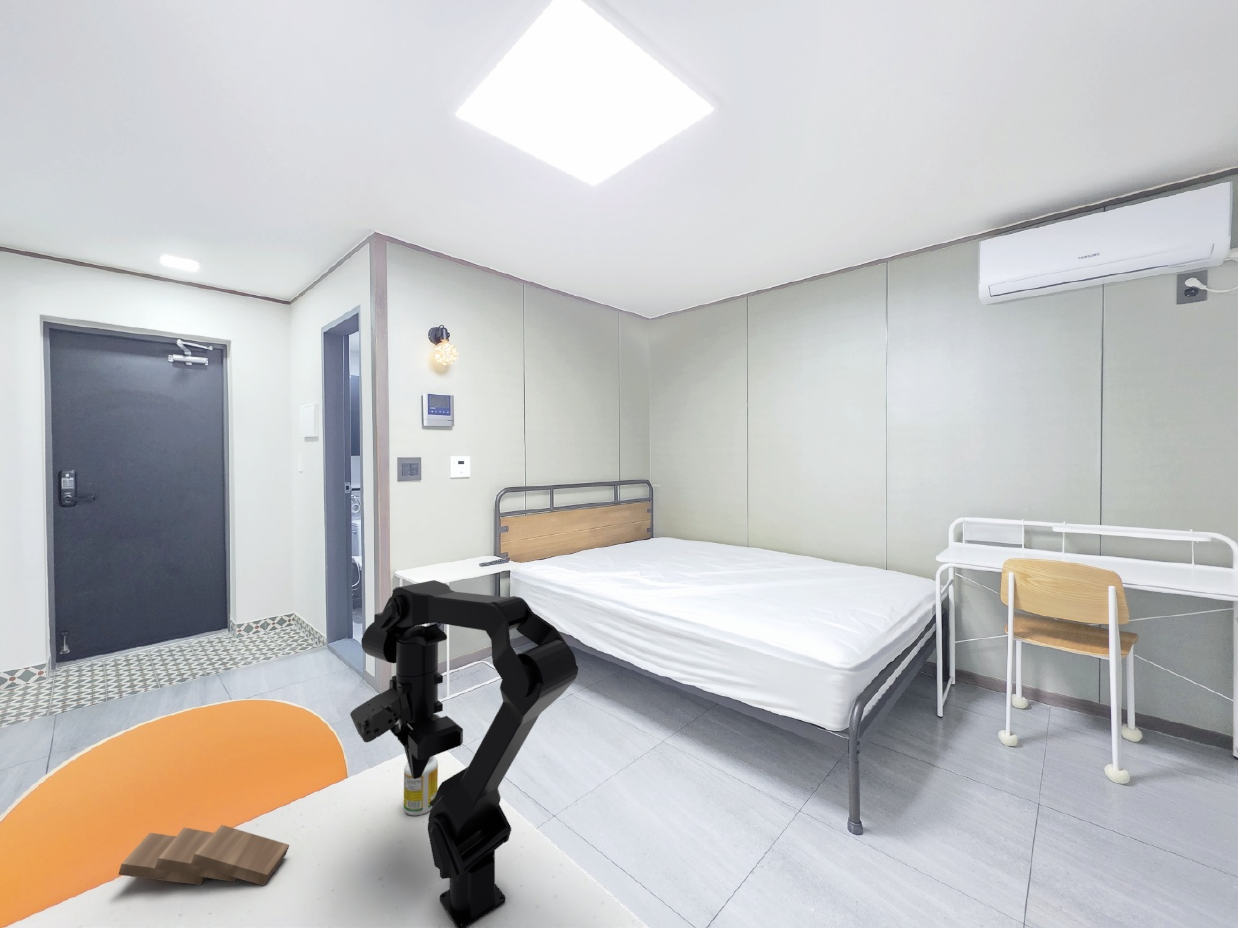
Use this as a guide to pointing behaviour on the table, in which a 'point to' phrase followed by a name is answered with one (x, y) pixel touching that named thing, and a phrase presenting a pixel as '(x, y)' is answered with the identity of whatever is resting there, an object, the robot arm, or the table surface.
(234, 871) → the domino
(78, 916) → the table surface
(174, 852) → the domino
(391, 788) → the table surface
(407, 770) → the supplement bottle
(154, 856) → the domino
